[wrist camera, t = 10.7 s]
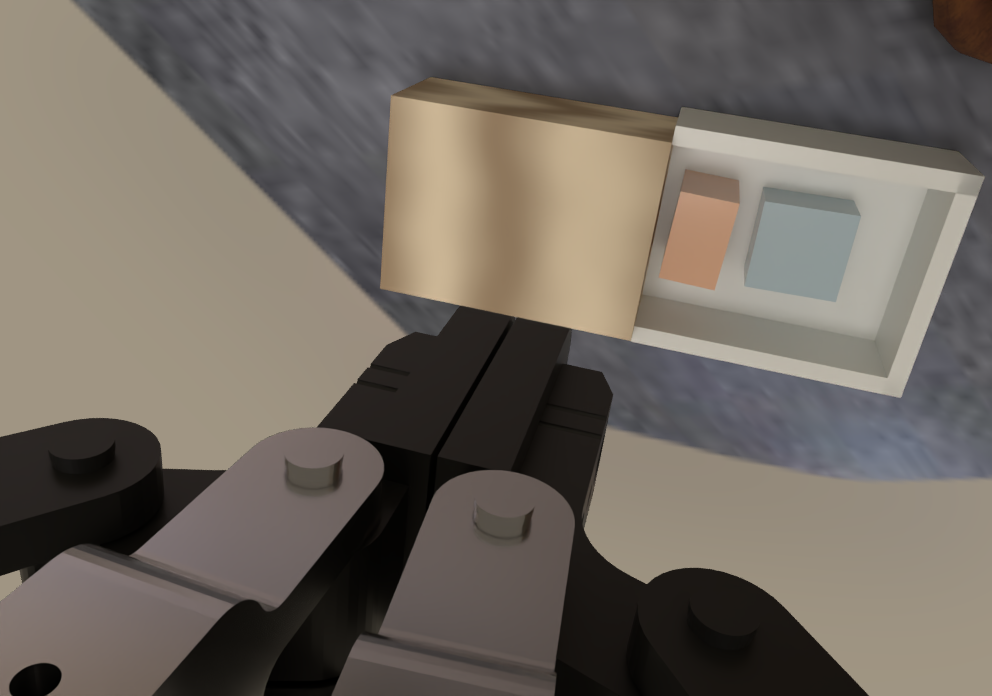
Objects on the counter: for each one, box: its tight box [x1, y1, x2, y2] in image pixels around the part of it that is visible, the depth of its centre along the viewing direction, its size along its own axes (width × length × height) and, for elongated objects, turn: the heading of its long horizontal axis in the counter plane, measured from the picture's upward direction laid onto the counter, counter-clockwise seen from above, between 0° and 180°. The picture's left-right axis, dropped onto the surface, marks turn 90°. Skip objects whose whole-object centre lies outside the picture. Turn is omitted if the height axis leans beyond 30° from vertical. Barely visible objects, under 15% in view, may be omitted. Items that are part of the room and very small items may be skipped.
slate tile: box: [744, 187, 861, 302], centre depth 39 cm, size 4×4×2 cm
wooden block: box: [380, 77, 678, 341], centre depth 40 cm, size 12×9×6 cm
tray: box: [631, 107, 985, 398], centre depth 39 cm, size 12×10×4 cm
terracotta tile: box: [659, 169, 740, 291], centre depth 39 cm, size 4×4×2 cm
